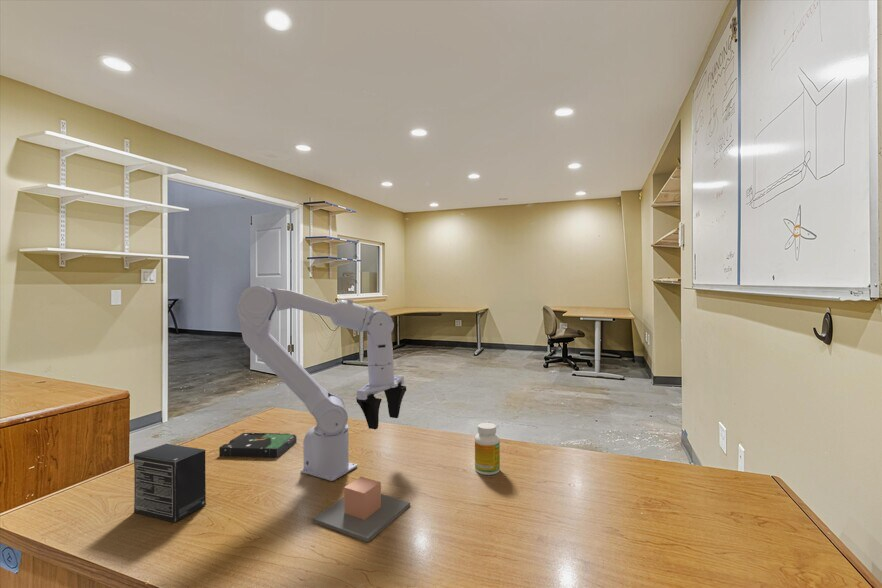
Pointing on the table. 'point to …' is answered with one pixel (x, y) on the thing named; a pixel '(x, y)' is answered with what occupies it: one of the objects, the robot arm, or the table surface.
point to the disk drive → (258, 445)
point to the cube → (362, 497)
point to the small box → (169, 481)
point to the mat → (359, 527)
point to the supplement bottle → (487, 450)
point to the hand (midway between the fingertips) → (384, 422)
